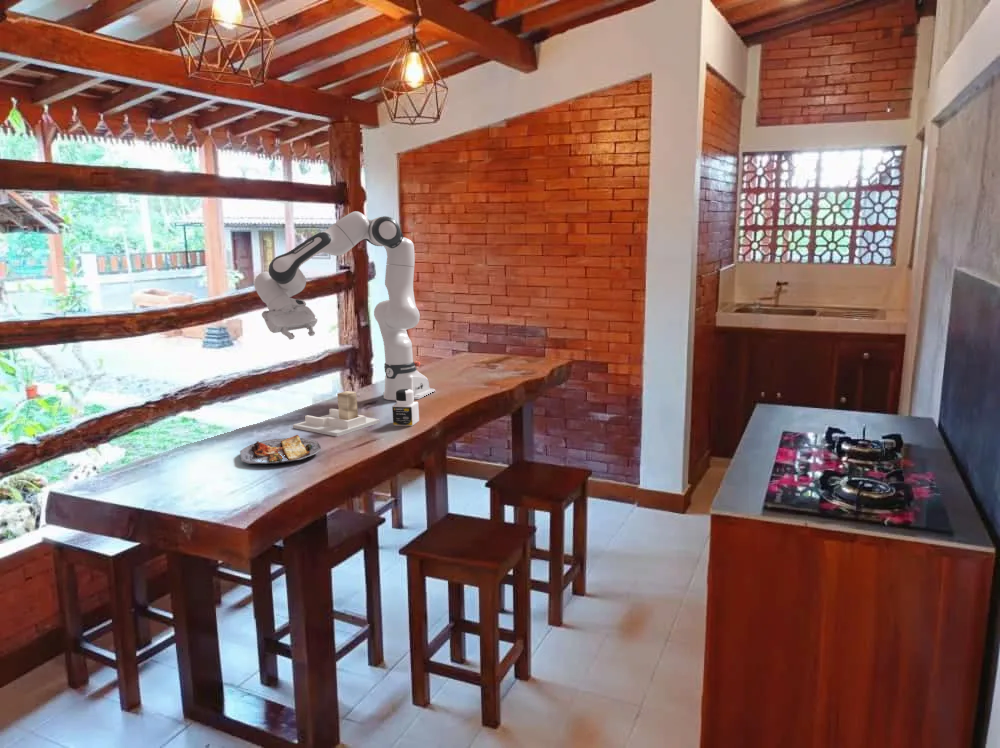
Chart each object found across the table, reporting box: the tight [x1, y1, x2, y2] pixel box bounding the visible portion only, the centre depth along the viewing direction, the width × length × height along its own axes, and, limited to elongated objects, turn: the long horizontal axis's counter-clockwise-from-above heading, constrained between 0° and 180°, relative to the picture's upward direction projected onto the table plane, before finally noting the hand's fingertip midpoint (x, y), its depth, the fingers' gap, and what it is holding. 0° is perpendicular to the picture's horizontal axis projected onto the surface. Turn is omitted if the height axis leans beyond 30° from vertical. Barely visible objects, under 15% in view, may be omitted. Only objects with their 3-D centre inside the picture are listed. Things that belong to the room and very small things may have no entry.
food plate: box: [239, 434, 321, 465], centre depth 225 cm, size 25×23×4 cm
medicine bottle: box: [392, 389, 420, 427], centre depth 256 cm, size 7×7×12 cm
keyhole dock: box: [292, 408, 381, 438], centre depth 257 cm, size 20×22×4 cm
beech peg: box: [337, 390, 359, 420], centre depth 253 cm, size 4×4×11 cm
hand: (302, 336), depth 269 cm, fingers open, 8 cm apart
